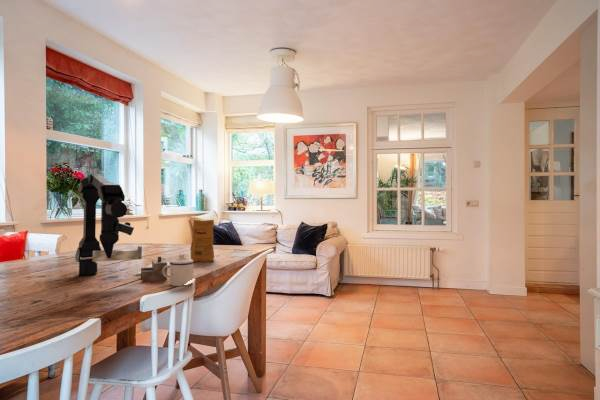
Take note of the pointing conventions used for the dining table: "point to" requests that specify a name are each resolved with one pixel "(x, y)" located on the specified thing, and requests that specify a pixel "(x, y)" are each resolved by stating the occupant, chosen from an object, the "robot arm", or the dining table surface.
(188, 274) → the teacup with lid
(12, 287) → the dining table surface
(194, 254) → the coffee package
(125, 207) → the robot arm
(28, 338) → the dining table surface
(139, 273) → the baseboard molding
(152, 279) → the knobbed grey box
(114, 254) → the rail
